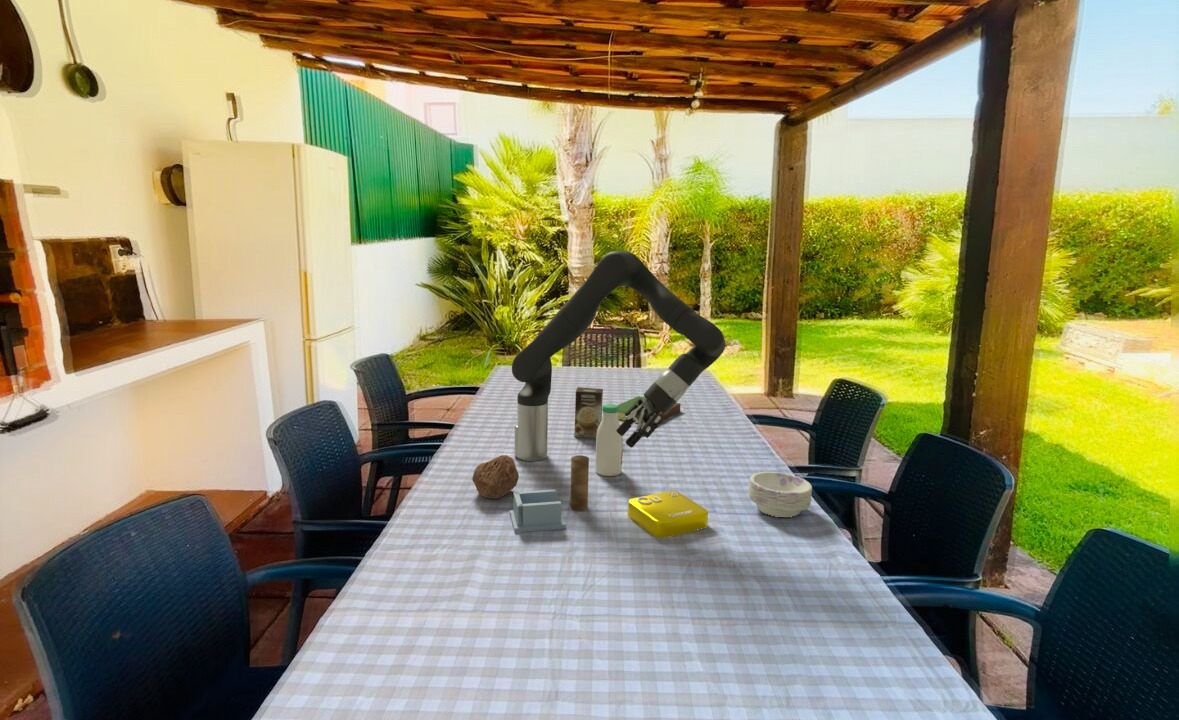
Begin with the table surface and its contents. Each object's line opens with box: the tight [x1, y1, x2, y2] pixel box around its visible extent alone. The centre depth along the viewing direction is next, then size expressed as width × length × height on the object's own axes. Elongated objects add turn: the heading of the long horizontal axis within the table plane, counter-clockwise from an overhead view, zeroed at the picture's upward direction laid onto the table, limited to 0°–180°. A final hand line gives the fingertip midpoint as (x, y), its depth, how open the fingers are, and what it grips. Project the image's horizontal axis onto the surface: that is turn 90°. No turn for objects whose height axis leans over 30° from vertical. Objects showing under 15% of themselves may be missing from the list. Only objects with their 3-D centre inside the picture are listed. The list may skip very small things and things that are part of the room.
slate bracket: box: [509, 489, 567, 533], centre depth 154 cm, size 12×10×6 cm
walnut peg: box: [569, 454, 590, 512], centre depth 161 cm, size 4×4×13 cm
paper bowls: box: [748, 471, 813, 518], centre depth 163 cm, size 15×15×8 cm
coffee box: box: [573, 386, 604, 439], centre depth 219 cm, size 9×6×16 cm
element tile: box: [627, 490, 709, 539], centre depth 156 cm, size 15×15×5 cm
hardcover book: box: [617, 395, 681, 424], centre depth 248 cm, size 25×19×4 cm
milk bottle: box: [595, 403, 624, 477], centre depth 185 cm, size 8×8×20 cm
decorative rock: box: [471, 454, 520, 499], centre depth 169 cm, size 13×11×10 cm
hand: (623, 439), depth 161 cm, fingers open, 8 cm apart
